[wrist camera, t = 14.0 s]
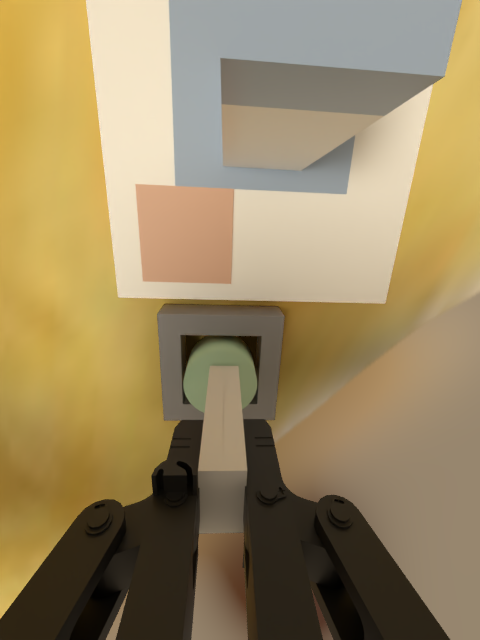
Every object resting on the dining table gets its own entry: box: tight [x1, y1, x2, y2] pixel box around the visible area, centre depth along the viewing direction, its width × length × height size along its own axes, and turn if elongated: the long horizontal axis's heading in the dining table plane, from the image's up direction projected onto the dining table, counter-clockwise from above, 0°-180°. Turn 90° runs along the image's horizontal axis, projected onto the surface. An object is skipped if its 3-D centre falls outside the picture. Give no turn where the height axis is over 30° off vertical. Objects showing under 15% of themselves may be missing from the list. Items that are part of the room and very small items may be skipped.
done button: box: [183, 335, 257, 413], centre depth 16 cm, size 4×4×3 cm
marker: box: [220, 0, 462, 171], centre depth 9 cm, size 4×4×10 cm
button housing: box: [157, 304, 285, 420], centre depth 18 cm, size 7×7×2 cm
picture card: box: [86, 0, 433, 304], centre depth 14 cm, size 16×18×1 cm
